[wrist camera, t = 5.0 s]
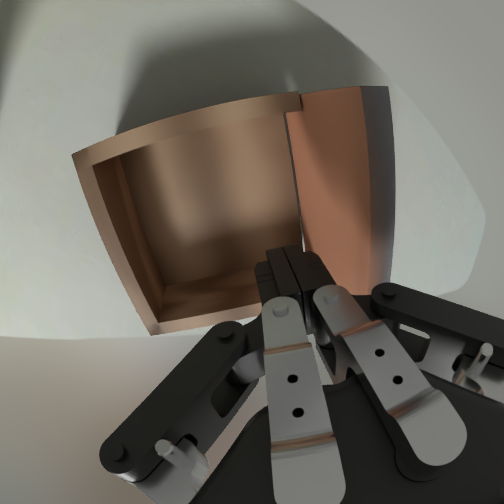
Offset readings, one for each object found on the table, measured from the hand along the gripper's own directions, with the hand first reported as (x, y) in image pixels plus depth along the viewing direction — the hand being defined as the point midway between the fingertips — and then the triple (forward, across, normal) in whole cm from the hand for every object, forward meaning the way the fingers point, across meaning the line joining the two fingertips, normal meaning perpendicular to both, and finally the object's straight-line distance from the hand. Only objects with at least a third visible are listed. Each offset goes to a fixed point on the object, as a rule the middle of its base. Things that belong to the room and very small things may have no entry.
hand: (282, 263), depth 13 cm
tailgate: (+10, -3, 0) cm, 11 cm away
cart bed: (+13, +4, 0) cm, 14 cm away
